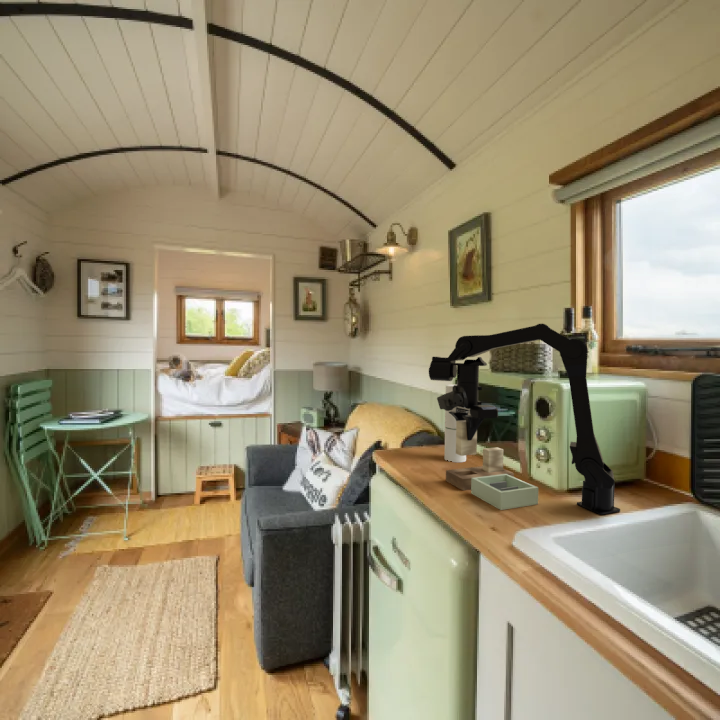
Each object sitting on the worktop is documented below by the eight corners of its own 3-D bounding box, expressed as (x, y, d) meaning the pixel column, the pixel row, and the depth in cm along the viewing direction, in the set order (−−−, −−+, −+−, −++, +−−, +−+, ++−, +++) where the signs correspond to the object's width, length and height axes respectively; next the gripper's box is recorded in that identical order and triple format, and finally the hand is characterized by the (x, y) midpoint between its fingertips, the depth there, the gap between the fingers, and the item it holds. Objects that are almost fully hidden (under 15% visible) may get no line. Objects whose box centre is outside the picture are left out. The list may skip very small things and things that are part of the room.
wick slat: (496, 478, 112) (497, 447, 112) (502, 481, 109) (503, 449, 109) (482, 480, 110) (483, 448, 110) (488, 483, 108) (488, 450, 107)
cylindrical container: (464, 456, 134) (465, 384, 134) (467, 462, 127) (469, 386, 127) (443, 456, 135) (444, 384, 135) (445, 461, 128) (447, 386, 127)
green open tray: (505, 488, 103) (506, 473, 103) (538, 504, 93) (538, 487, 93) (471, 493, 99) (471, 477, 99) (500, 510, 89) (501, 492, 89)
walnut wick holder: (494, 475, 115) (494, 464, 115) (513, 483, 107) (513, 472, 107) (445, 480, 109) (445, 470, 109) (462, 490, 101) (462, 479, 101)
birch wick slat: (470, 452, 108) (471, 419, 108) (476, 454, 106) (477, 421, 106) (455, 453, 107) (456, 420, 107) (461, 455, 104) (461, 422, 104)
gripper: (424, 380, 112) (423, 433, 112) (463, 385, 94) (461, 449, 95) (457, 379, 116) (456, 431, 116) (500, 384, 98) (498, 446, 99)
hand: (466, 439), depth 106 cm, fingers closed on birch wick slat, 2 cm apart
